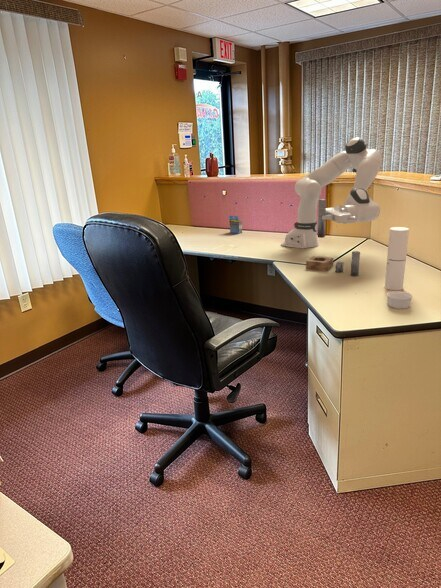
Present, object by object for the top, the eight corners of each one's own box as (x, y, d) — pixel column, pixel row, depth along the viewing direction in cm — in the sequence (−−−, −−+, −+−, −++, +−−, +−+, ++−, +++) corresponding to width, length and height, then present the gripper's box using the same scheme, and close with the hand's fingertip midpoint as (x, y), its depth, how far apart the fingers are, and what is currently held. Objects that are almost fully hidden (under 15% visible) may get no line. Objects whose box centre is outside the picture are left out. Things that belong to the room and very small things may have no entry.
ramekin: (385, 308, 155) (386, 297, 153) (385, 300, 162) (386, 290, 161) (411, 310, 152) (413, 299, 150) (410, 302, 159) (411, 291, 158)
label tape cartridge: (242, 232, 297) (241, 215, 293) (239, 233, 295) (238, 216, 290) (233, 231, 303) (232, 214, 299) (229, 232, 300) (228, 215, 296)
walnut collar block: (306, 268, 207) (306, 260, 206) (313, 263, 215) (313, 255, 214) (326, 270, 202) (327, 263, 200) (333, 265, 210) (333, 257, 209)
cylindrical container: (394, 291, 171) (400, 231, 162) (380, 286, 177) (385, 228, 168) (406, 287, 174) (413, 228, 165) (392, 283, 180) (398, 226, 171)
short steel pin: (334, 272, 199) (335, 263, 198) (336, 270, 202) (337, 261, 201) (341, 272, 198) (342, 263, 196) (343, 270, 201) (344, 262, 199)
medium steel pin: (349, 275, 193) (351, 252, 189) (351, 273, 196) (353, 250, 192) (357, 276, 191) (358, 253, 188) (359, 274, 194) (360, 251, 190)
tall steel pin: (316, 237, 203) (317, 200, 197) (318, 235, 206) (320, 199, 199) (323, 237, 201) (324, 200, 195) (325, 236, 204) (327, 199, 198)
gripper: (356, 224, 193) (328, 227, 191) (338, 217, 212) (312, 219, 210) (357, 211, 191) (329, 213, 189) (338, 204, 210) (312, 206, 208)
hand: (320, 216), depth 200 cm, fingers closed on tall steel pin, 3 cm apart
